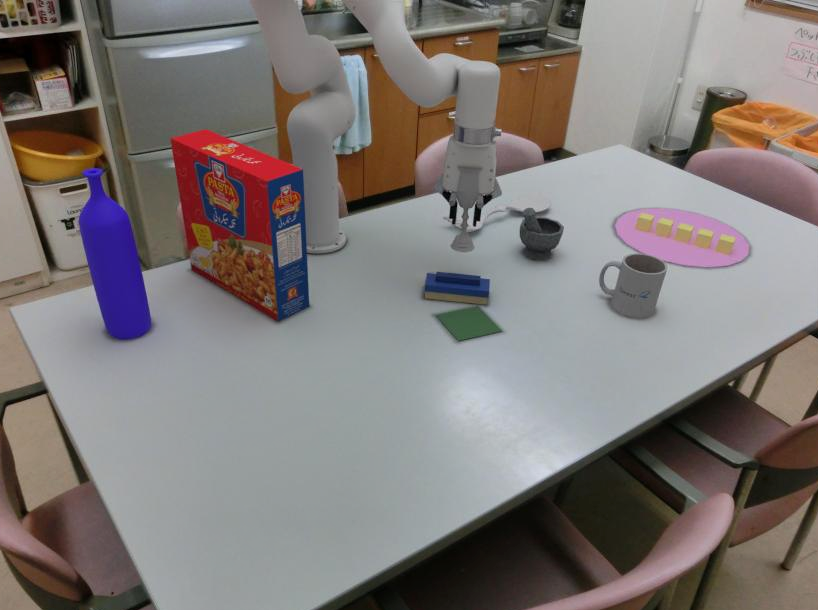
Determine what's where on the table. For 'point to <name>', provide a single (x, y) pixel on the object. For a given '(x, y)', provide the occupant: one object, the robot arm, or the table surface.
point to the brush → (457, 287)
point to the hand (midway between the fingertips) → (464, 222)
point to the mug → (636, 284)
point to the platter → (682, 237)
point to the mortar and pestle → (539, 234)
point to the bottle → (113, 262)
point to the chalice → (466, 206)
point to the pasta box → (244, 221)
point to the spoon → (518, 204)
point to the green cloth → (468, 323)
